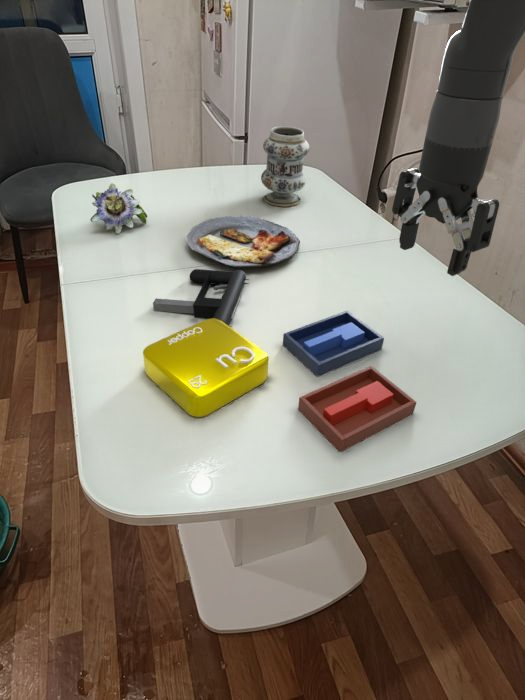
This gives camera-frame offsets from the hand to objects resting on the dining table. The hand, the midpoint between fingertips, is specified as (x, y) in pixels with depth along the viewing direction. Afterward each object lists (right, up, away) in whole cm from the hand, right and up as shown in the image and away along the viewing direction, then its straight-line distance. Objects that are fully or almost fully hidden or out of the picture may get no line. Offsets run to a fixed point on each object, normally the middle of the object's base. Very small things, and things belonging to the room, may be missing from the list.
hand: (429, 260), depth 69 cm
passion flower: (-57, +17, +53) cm, 80 cm away
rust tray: (-9, -21, +7) cm, 24 cm away
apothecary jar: (-17, +29, +70) cm, 77 cm away
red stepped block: (-9, -21, +6) cm, 24 cm away
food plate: (-27, +11, +47) cm, 55 cm away
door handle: (-34, -4, +28) cm, 44 cm away
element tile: (-32, -16, +12) cm, 37 cm away
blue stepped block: (-11, -11, +18) cm, 24 cm away
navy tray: (-11, -12, +19) cm, 25 cm away
